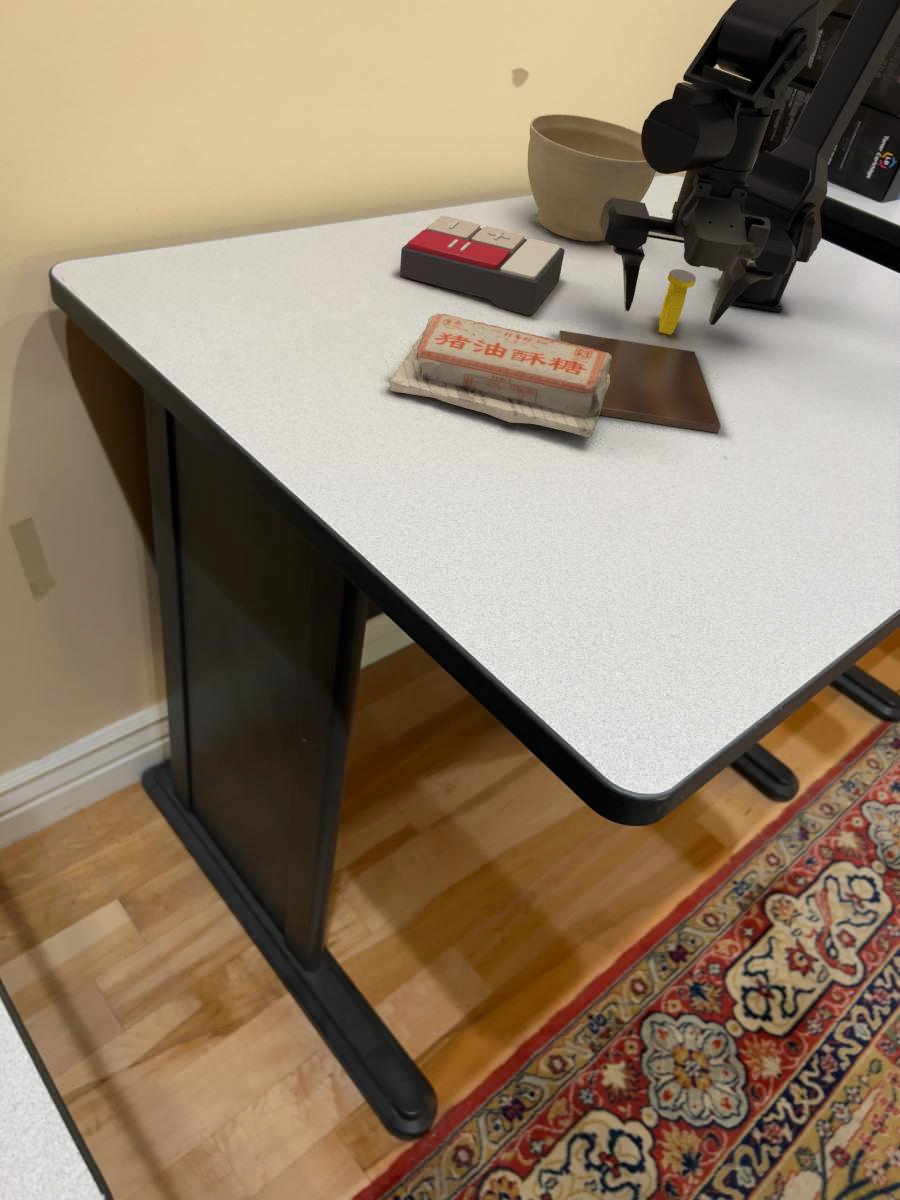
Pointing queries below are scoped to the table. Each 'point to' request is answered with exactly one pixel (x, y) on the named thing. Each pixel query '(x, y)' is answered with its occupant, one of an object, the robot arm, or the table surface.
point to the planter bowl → (583, 171)
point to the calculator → (484, 263)
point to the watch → (675, 299)
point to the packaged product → (507, 374)
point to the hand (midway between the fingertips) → (669, 316)
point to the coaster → (652, 383)
